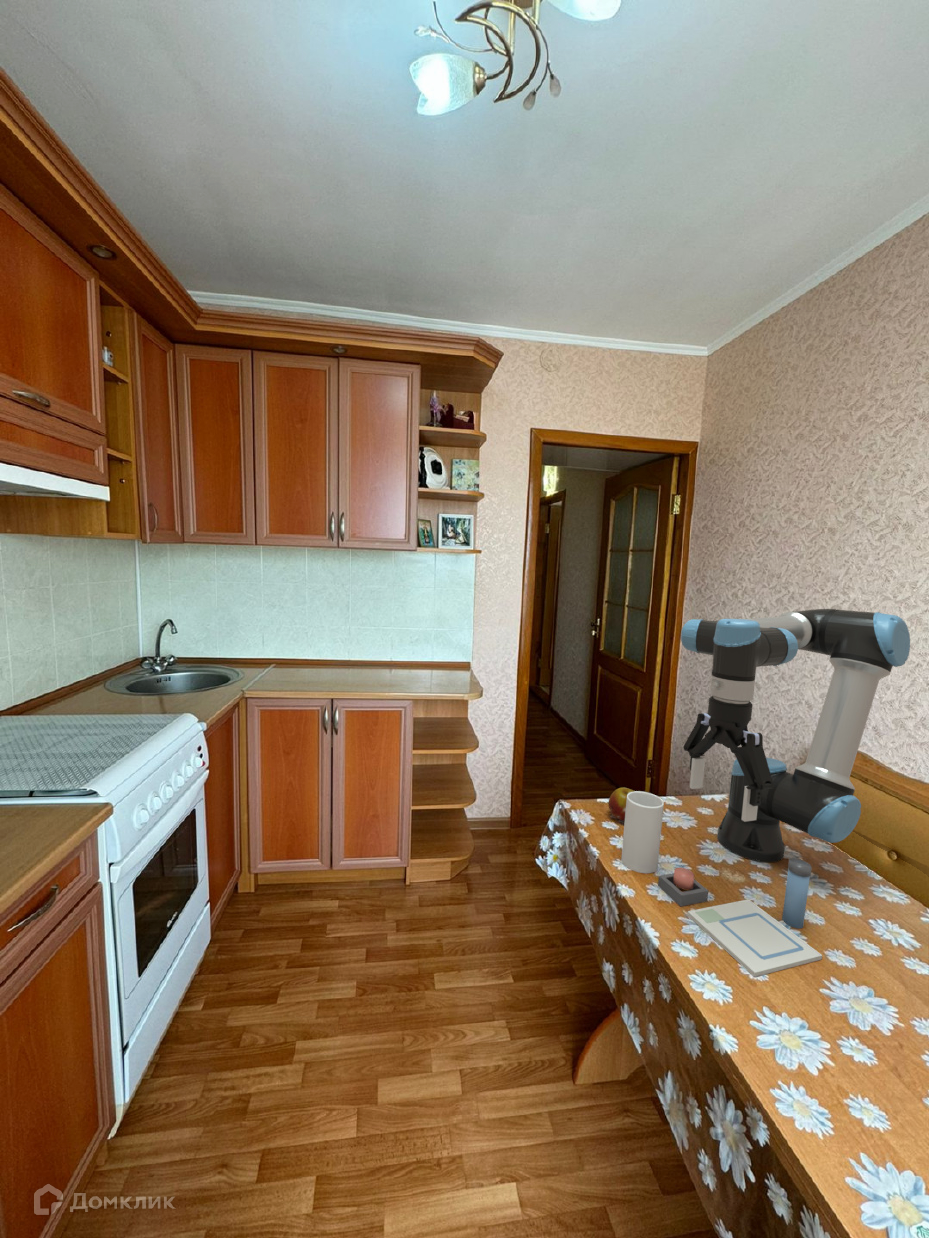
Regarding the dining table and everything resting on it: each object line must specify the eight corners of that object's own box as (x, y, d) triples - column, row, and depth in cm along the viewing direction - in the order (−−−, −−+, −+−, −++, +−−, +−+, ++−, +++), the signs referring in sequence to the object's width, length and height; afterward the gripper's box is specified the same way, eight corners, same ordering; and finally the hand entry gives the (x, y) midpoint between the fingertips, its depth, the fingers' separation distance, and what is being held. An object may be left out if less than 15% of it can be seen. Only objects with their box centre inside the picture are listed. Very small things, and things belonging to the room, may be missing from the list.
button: (684, 876, 111) (685, 866, 111) (697, 888, 107) (698, 877, 107) (669, 879, 110) (670, 868, 109) (682, 890, 106) (683, 879, 106)
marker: (791, 914, 104) (798, 857, 102) (808, 926, 100) (816, 867, 99) (777, 917, 103) (784, 859, 101) (794, 930, 99) (802, 870, 98)
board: (748, 902, 107) (748, 898, 107) (821, 959, 92) (822, 954, 91) (687, 914, 102) (687, 910, 102) (754, 976, 87) (754, 972, 87)
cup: (660, 876, 115) (667, 809, 113) (623, 870, 116) (629, 804, 115) (654, 856, 123) (660, 793, 121) (619, 850, 124) (625, 789, 123)
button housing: (683, 881, 113) (684, 871, 113) (707, 901, 106) (708, 890, 106) (657, 885, 111) (658, 875, 111) (680, 906, 104) (681, 895, 104)
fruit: (636, 830, 135) (638, 801, 134) (602, 819, 140) (605, 792, 139) (644, 816, 143) (647, 789, 142) (613, 806, 148) (615, 780, 147)
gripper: (671, 683, 108) (663, 778, 110) (770, 719, 84) (758, 838, 87) (699, 682, 110) (691, 775, 112) (805, 717, 86) (792, 833, 89)
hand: (720, 802), depth 100 cm, fingers open, 13 cm apart
